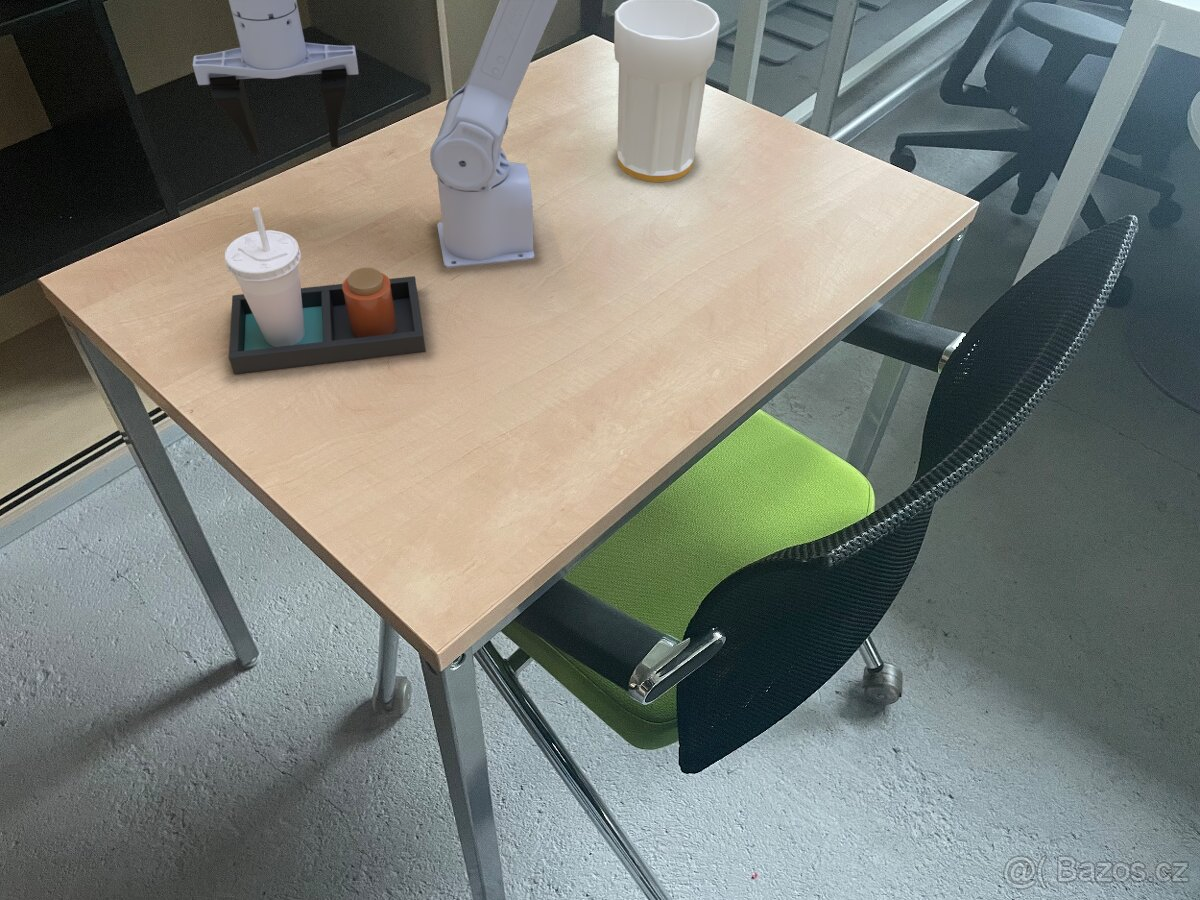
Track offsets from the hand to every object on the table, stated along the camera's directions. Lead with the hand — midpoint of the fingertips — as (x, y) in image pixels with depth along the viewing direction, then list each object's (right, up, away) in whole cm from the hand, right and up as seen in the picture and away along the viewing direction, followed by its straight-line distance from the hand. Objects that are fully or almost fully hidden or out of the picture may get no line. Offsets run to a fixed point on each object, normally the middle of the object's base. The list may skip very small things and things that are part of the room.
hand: (295, 145), depth 95 cm
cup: (+37, +4, +20) cm, 42 cm away
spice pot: (+8, -18, -3) cm, 20 cm away
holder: (+4, -19, -3) cm, 20 cm away
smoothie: (0, -20, -4) cm, 20 cm away
